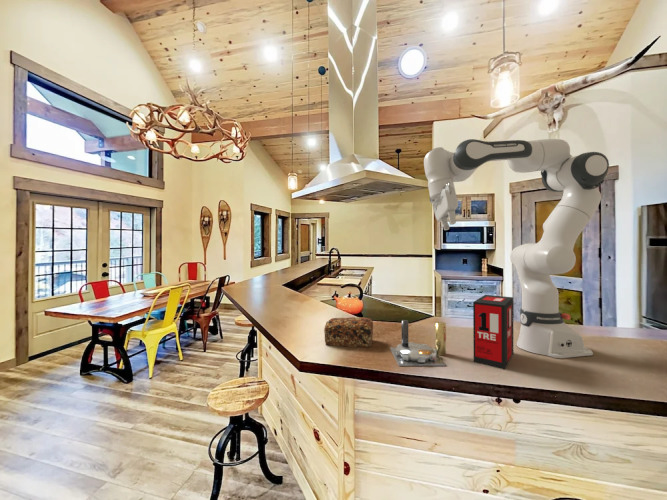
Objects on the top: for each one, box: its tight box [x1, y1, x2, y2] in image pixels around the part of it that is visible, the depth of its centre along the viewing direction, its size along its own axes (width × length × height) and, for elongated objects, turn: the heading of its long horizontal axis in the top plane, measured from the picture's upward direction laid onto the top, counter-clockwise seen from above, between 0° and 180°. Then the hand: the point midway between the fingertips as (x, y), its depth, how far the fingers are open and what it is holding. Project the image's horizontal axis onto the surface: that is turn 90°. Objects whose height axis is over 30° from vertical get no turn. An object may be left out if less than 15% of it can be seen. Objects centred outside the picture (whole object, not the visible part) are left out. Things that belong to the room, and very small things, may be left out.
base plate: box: [389, 346, 447, 367], centre depth 98 cm, size 15×15×1 cm
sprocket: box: [395, 319, 437, 362], centre depth 98 cm, size 14×14×11 cm
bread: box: [323, 316, 374, 348], centre depth 113 cm, size 19×11×10 cm, turn 77°
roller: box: [434, 321, 447, 357], centre depth 100 cm, size 4×4×11 cm
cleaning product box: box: [472, 294, 514, 370], centre depth 96 cm, size 16×9×20 cm, turn 139°
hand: (449, 227), depth 102 cm, fingers open, 8 cm apart
